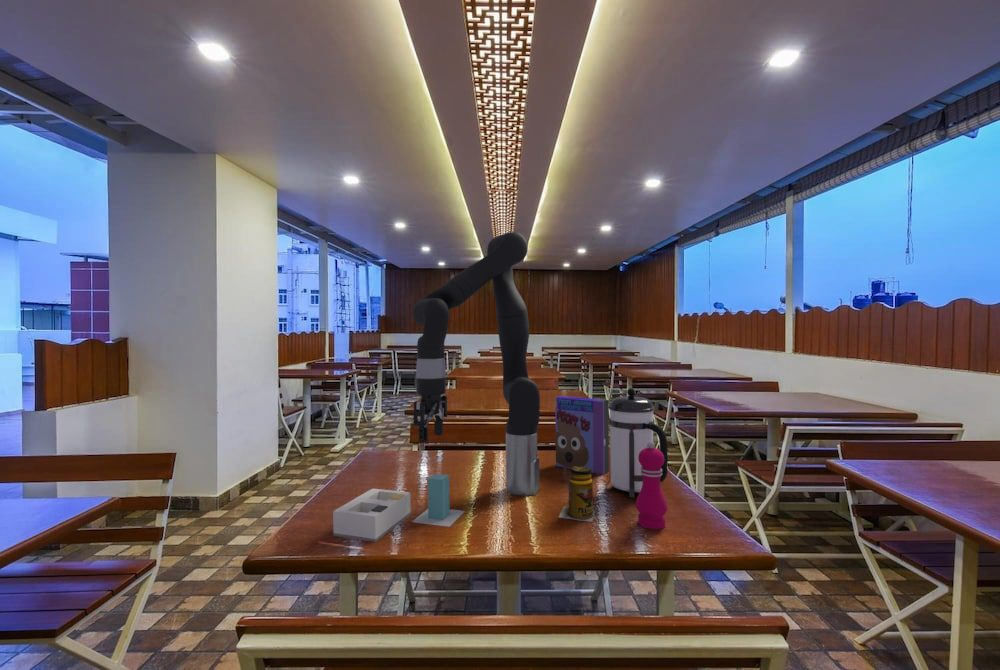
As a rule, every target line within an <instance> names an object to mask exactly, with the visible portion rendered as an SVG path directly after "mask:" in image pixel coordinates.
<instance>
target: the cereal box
mask: <svg viewBox="0 0 1000 670" xmlns="http://www.w3.org/2000/svg"><path fill="white" fill-rule="evenodd" d="M609 403H610V402H609V399H601V398H590V397H589V398H588V397H577V396H576V397H574V396H565V395H564V396H563V395H561V396H560V395H559V396H556V397H555V408H554V409H555V411H554V412H555V415H554V416H555V417H554V419H555V467H557V468H561V469H562V468H563V469H569V470H570V469H571V467H573V466H585V467H588V468H590V469H591V474H597V475H602V476H604V475H605V474H607V473H608V472H609V473H610V436H609V418H610V410H609V405H610V404H609Z"/></svg>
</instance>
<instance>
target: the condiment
mask: <svg viewBox="0 0 1000 670" xmlns="http://www.w3.org/2000/svg"><path fill="white" fill-rule="evenodd" d="M569 471H570V473H569V478H568V506H563V507H562V509H561V511H560V513H559V516H558V519H559V518H560V519H561V518H562V519H568V520H576V521H580V522H581V521H582V522H591V523H592V522H593V521H594V519H595V515H596V510H595V509H593V508H594V506H593V504H594V502H593V498H594V495H593V492H594V491H593V483H594V481H593V478H592V473H591V469H590V468H588V467H585V466H573V467H571V469H569Z"/></svg>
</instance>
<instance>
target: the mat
mask: <svg viewBox="0 0 1000 670" xmlns="http://www.w3.org/2000/svg"><path fill="white" fill-rule="evenodd" d="M464 513H465V510H460V509H459V510H458V509H450V514H449V515H448V516H447V517H446V518H445V519H444V520H437V519H429V518H428V508H427V509H426V510H424V511H423V512H422V513H421V514H420V515H418V516H417V517H416V518H415V519H413V520H411V523H417V524H423V525H424V524H425V525H431V526H432V525H433V526H440V527H448V528H449V527H451V526H452V525H453V524H454V523H455V522H456V521H457V520H459V518H460V517H461V516H462V515H463V514H464Z"/></svg>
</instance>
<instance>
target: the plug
mask: <svg viewBox="0 0 1000 670" xmlns="http://www.w3.org/2000/svg"><path fill="white" fill-rule="evenodd" d="M450 502H451V501H450V474H445V473H444V474H443V473H433V474H432V475H431V476H429V477H428V478H427V504H428V505H427V509H428V518H429V519H437V520H444V519H445V518H446V517H447V516H448V515H449V514H450Z"/></svg>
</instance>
